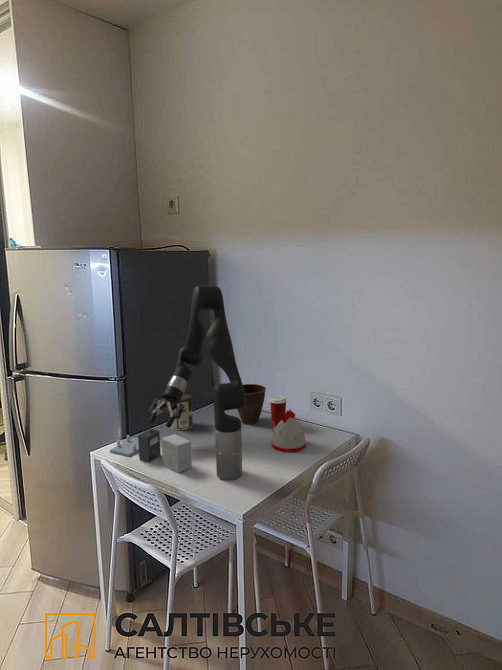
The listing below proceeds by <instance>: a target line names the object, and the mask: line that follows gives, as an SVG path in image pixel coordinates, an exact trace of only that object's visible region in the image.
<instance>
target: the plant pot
mask: <svg viewBox="0 0 502 670" xmlns="http://www.w3.org/2000/svg"><path fill="white" fill-rule="evenodd" d="M243 387H244V391H245V397H246V403H245V406H244V407H243V408H239V409H237V411H238V415H239V419H240V420H241V423H243V424H245V425H254V424H257V423H258V422H259V419H260V415H261V414H262V410H263V406H264V402H265V397H266V389H267V388H266V387H265V386H263V385H260V384H255V383H246V384H245V383H243Z"/></svg>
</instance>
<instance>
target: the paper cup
mask: <svg viewBox="0 0 502 670" xmlns="http://www.w3.org/2000/svg"><path fill="white" fill-rule="evenodd" d="M287 402H288V400H287V397H286V396H284V395H274V396H271V397H270V399H269V403H270V404H269V405H270V415H271V417H270V418H271V427H272V429H273V428H274V427H276V426H277V425H278V423H279V422H280V421H281V420H282V418H281V416H283V413H284V412H285V413H286V411H287Z"/></svg>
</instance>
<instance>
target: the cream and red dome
mask: <svg viewBox="0 0 502 670" xmlns="http://www.w3.org/2000/svg"><path fill="white" fill-rule="evenodd" d="M281 418H282V420H281V421H280V422H279V423H278V425H277V426H276V427H274V428H272V433H273V434H272V436H271V447H272V448H273V449H274V450H276V451H279V452H282V453H297V452H298V453H299V452H301V451H303V450H305V448H306V447H307V442H306V436H305V431H304V430H303V428H302V426H301V424H300V423H299V422H298V421H297V419H295V418H296V413H295V412H294V411H292V410H291V409H288V410H286V413H285V412H284V413H283V416H281Z"/></svg>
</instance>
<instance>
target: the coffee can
mask: <svg viewBox="0 0 502 670" xmlns="http://www.w3.org/2000/svg"><path fill="white" fill-rule="evenodd" d="M192 399H193V396H192V394H189V393H185V392H184V394H183V396H182V398H181V400H180V402H179V403H182V404H183V405H184V409H183V412H182V414H181V417H180V419H178V418H177V419H175V420H174V422H173V424H172V426H171V427H170V429H172V430H175V431H186V430H189V429H191V428H193V427H194V422H193V420H194V419H193V400H192ZM179 403H178V404H179ZM176 410H177V408H176V409H175V413H176ZM169 417H171V416H169Z"/></svg>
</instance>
